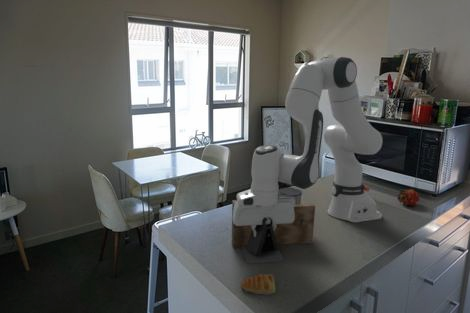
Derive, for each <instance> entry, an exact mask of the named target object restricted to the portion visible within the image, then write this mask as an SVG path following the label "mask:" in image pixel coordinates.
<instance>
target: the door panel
mask: <svg viewBox="0 0 470 313" xmlns="http://www.w3.org/2000/svg"><path fill="white" fill-rule="evenodd" d="M231 202H232V203H231V204H232V206H231V210H232V211H231V212H232V213H231V245H232V248H233V249H242V246H247V244H248V241H249V238H250V235H251V232H252V228H251V226H250V225H247V226H236V225H235V224H234V223H233V209H234V205H235V203H236V202H237V199H235V200H234V199H233V200H232V201H231ZM315 212H316V205H315V204H314V203H301V204H295V206H294V214H295V220H294V222H293V223H287V224H277V226H276V228H275V230H274V234H275V237H276V240H277V244H278V245H288V244H289V245H290V244H292V245H293V244H307V243H309V244H310V243H313V240H314V228H315V215H316V214H315ZM264 242H265V241H264Z"/></svg>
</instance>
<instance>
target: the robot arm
mask: <svg viewBox="0 0 470 313" xmlns="http://www.w3.org/2000/svg"><path fill="white" fill-rule="evenodd" d="M357 74H358V67H357V64H356V63H355V61H354V60H353V59H352V58H350V57H346V56H340V57H324V58H319V59H316V60H315V59H314V60H308V61H306V62H304V63H302V64H301V65H300V67H299V68H298V69H297V71H296V73H295V75H294V77H293V78H292V81H291V82H290V85H289V88H288V92H287V94H286V98H285V102H284V104H285V105H284V106H285V107H284V108H285V111H286V112H287V114H288V115H289V116H290V117H291V118H292V119H293V120H295V121H296V122H298V123H299V124H301V125H303V126H304V127H305V129H306V130H305V131H306V133H305V134H306V135H305V141H304V142H305V143H304V147H303V148H304V149H303V154H302V155H295V154H290V153H286V152H282V151H280V150H279V148H278V147H277V146H275V145H271V144H267V145H260V146H258V147H256V148H255V149H254V152H253V155H252V160H251V168H250V169H251V171H250V172H251V173H250V174H251V177H252V178H251V179H252V181H251V185H250V188H248V189H246V190H244V191H241V192H238V193H237V194H236V200H237V202H236V203H235V205H234V209H233V223H234V224H235V225H236V226H247V225H250V226H251V228H252V230H253V231H254V237H256V235H257V232H256V230H255V228H256V225H262V220H263V219H264V218H265V217H266V218H267V219H268V220H267V221H266V225H267V224H270V223H271V220H270V219H269V218H271V219H272V220H273V223H272V227H273V231H274V230H275V228H276V226H277V224H287V223H293V222H294V220H295V214H294V206H295V198H294V197H292V196H291V195H287V196H278V191H279V188H280V186H279V182H281V183H283V184H287V185H291V186H294V187H297V188H298V189H301V190H307V189H309V188H310V187H312V186H313V185H315V184H316V183H317V181H318V180H319V175H320V155H321V154H320V153H321V147H322V140H323V139H324V142H325V144H326V145H327V147H328V148H329V149H330V151H331V153H332V156H333V159H334V160H333V161H334V177H333V178H334V180H333V181H332V188H331V189H332V191H331V192H332V195H331V199H330V200H331V201H330V204H329V208H328V210H327V214H328V215H330V216H332V217H333V218H336V219H340V220H344V221H348V222H351V223H360V222H366V221H367V222H370V221H375V220H380V219H383V218H382V217H383V215H382V213H381V212H380V211H379V210H378V209H377V203H376V201H375V200H374V199H373V198H371V197H370V196H369V195H368V194H367V193H366V192H369V191H370V186H368V185H364V184H363V183H362V179H363V172H364V170H363V169H364V168H363V165H362V163H361V162H359V161H358V159H357V158H356V156H355V154H358V155H369V156H370V155H375V154H377V153H378V152H379V151H380V150H381V148H382V147H383V146H382V145H383V142H384V141H383V136H382V134H381V132H380V131H379V130H378V129H376V128H375V127H373V126H372V124H371V123H370V122H369V121H368V119H367V118H366V116H365V114H364V111H363V110H362V104H361V101H360V95H359V90H358V86H357V81H356V78H357ZM323 90H324V91H325V90H327V94H328V99H329V103H330V104H329V105H330V109H331V113H332V117H333V118H334V119H335V120H336V121H337V122H338V123H335V124H329V125H328V126H327V128H326V129H325V130H324V115H323V113H322V111H320V108H319V102H320V100H321V96H322V92H323ZM323 131H324V132H323ZM268 217H269V218H268ZM268 236H269V233H268Z"/></svg>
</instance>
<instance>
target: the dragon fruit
mask: <svg viewBox="0 0 470 313" xmlns="http://www.w3.org/2000/svg"><path fill="white" fill-rule="evenodd" d="M397 200H398V202H399V203H402V202H403V203H404V204H405V205H408V206H411V205H414V206H413V207H415V206H416V204H417V202H419V201H420V197H419V194H418V192H417V191H415V190H414V189H413V188H412V189H408V188H407V189H405V190H400V191H399V194H398V197H397ZM403 203H402V204H403ZM405 205H404V206H405Z"/></svg>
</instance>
